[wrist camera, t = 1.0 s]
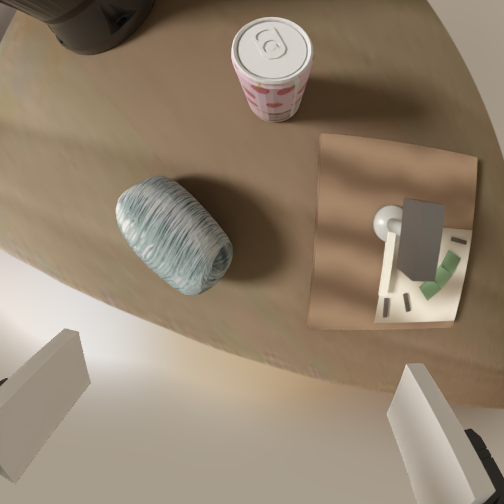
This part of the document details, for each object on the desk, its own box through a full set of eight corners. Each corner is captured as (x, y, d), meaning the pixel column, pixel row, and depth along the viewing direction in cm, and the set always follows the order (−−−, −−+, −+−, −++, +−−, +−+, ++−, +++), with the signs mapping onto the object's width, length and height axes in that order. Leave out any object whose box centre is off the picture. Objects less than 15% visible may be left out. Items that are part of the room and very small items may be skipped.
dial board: (319, 135, 32) (322, 132, 30) (468, 157, 31) (479, 157, 28) (307, 321, 37) (308, 331, 35) (445, 320, 36) (453, 328, 34)
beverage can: (271, 66, 30) (266, 1, 16) (310, 97, 31) (333, 46, 16) (238, 101, 32) (210, 53, 17) (277, 132, 32) (278, 102, 18)
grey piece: (374, 192, 31) (413, 200, 21) (407, 195, 31) (453, 205, 21) (364, 292, 34) (392, 334, 24) (395, 292, 33) (430, 332, 24)
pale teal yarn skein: (266, 250, 32) (199, 288, 25) (217, 288, 38) (156, 324, 31) (196, 150, 33) (121, 161, 26) (160, 200, 40) (95, 219, 32)
